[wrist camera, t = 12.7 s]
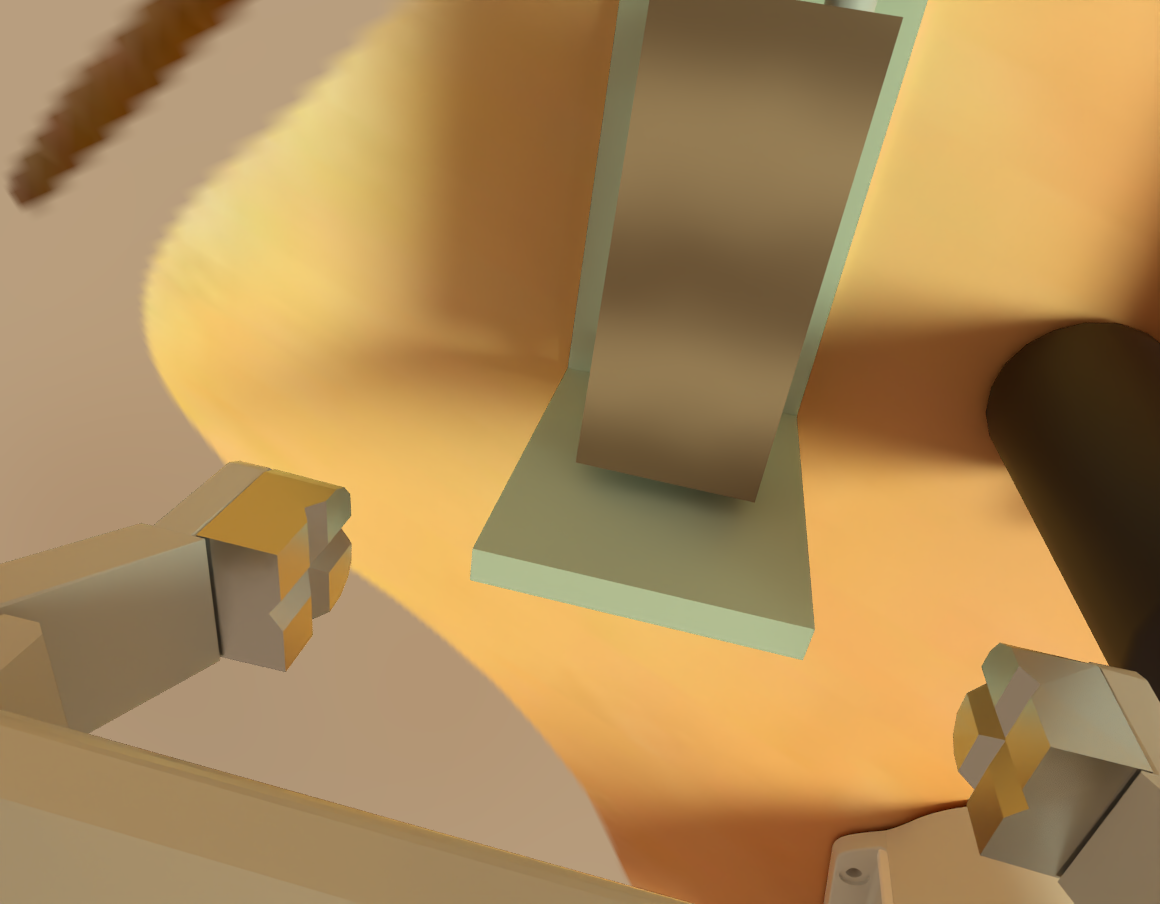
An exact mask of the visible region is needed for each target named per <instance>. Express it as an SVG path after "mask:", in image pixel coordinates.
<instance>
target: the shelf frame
mask: <svg viewBox="0 0 1160 904" xmlns="http://www.w3.org/2000/svg"><path fill="white" fill-rule="evenodd" d="M800 1H806V2H812V3H818V4H825V5H831V6H837V7H843V8H850V9H856V10H862V11H868V12H874V13H881V14H887V15H893V16H899V17H903V20H902V23H901V27H900V30H899V33H898V37H897V40H896V43H895V46H894V50H893V53H892V56H891V59H890V63H889V66H888V69H887V72H886V76H885V79H884V82H883V86H882V89H881V92H880V95H879V99H878V102H877V105H876V108H875V112H874V115H873V118H872V121H871V125H870V128H869V131H868V134H867V138H866V141H865V144H864V148H863V151H862V154H861V157H860V161H859V164H858V167H857V170H856V174H855V177H854V180H853V183H852V187H851V190H850V193H849V197H848V200H847V203H846V206H845V210H844V213H843V216H842V219H841V223H840V226H839V229H838V232H837V236H836V239H835V242H834V246H833V249H832V252H831V255H830V259H829V262H828V265H827V268H826V272H825V275H824V278H823V281H822V285H821V288H820V291H819V294H818V298H817V301H816V304H815V308H814V311H813V314H812V317H811V321H810V324H809V327H808V330H807V334H806V337H805V340H804V343H803V347H802V350H801V353H800V357H799V360H798V363H797V366H796V370H795V373H794V376H793V379H792V383H791V386H790V389H789V392H788V396H787V399H786V402H785V406H784V409H783V412H782V415H781V419H780V422H779V425H778V428H777V432H776V435H775V438H774V441H773V445H772V448H771V451H770V454H769V458H768V461H767V464H766V468H765V471H764V474H763V477H762V481H761V484H760V487H759V490H758V494H757V497H756V500H755V503H754V502H750V501H745V500H741V499H736V498H732V497H727V496H723V495H718V494H714V493H710V492H705V491H701V490H696V489H692V488H687V487H683V486H678V485H674V484H669V483H665V482H661V481H656V480H652V479H647V478H643V477H638V476H634V475H629V474H625V473H620V472H616V471H612V470H607V469H603V468H598V467H594V466H589V465H585V464H580V463H576V457H577V451H578V445H579V438H580V432H581V426H582V420H583V413H584V407H585V401H586V394H587V388H588V382H589V376H590V369H591V363H592V357H593V351H594V344H595V338H596V332H597V325H598V319H599V313H600V307H601V300H602V294H603V288H604V282H605V275H606V269H607V263H608V256H609V250H610V244H611V238H612V231H613V225H614V219H615V213H616V206H617V200H618V194H619V187H620V181H621V175H622V169H623V162H624V156H625V150H626V144H627V137H628V131H629V125H630V118H631V112H632V106H633V100H634V93H635V87H636V81H637V75H638V68H639V62H640V56H641V49H642V43H643V37H644V31H645V24H646V18H647V12H648V6H649V0H619V7H618V14H617V21H616V29H615V36H614V43H613V50H612V57H611V64H610V71H609V78H608V85H607V93H606V100H605V107H604V114H603V121H602V128H601V135H600V142H599V149H598V157H597V164H596V171H595V178H594V185H593V192H592V199H591V206H590V214H589V221H588V228H587V235H586V242H585V249H584V256H583V263H582V270H581V278H580V285H579V292H578V299H577V306H576V313H575V320H574V327H573V335H572V342H571V349H570V356H569V363H568V368H567V370H566V372H565V374H564V376H563V378H562V380H561V382H560V384H559V386H558V387H557V389H556V391H555V393H554V395H553V397H552V399H551V401H550V403H549V405H548V406H547V408H546V410H545V412H544V414H543V416H542V418H541V420H540V422H539V424H538V425H537V427H536V429H535V431H534V433H533V435H532V437H531V439H530V441H529V443H528V445H527V446H526V448H525V450H524V452H523V454H522V456H521V458H520V460H519V462H518V464H517V465H516V467H515V469H514V471H513V473H512V475H511V477H510V479H509V481H508V483H507V484H506V486H505V488H504V490H503V492H502V494H501V496H500V498H499V500H498V502H497V503H496V505H495V507H494V509H493V511H492V513H491V515H490V517H489V519H488V521H487V522H486V524H485V526H484V528H483V530H482V532H481V534H480V536H479V538H478V540H477V541H476V543H475V545H474V547H473V551H472V563H471V575H470V580H472V581H476V582H480V583H485V584H489V585H493V586H497V587H501V588H505V589H509V590H514V591H518V592H522V593H526V594H530V595H534V596H538V597H543V598H547V599H551V600H555V601H559V602H563V603H568V604H572V605H576V606H580V607H584V608H588V609H592V610H597V611H601V612H605V613H609V614H613V615H617V616H622V617H626V618H630V619H634V620H638V621H642V622H646V623H651V624H655V625H659V626H663V627H667V628H671V629H676V630H680V631H684V632H688V633H692V634H696V635H700V636H705V637H709V638H713V639H717V640H721V641H725V642H730V643H734V644H738V645H742V646H746V647H750V648H754V649H759V650H763V651H767V652H771V653H775V654H779V655H783V656H788V657H792V658H796V659H800V660H803V659H804V656H805V653H806V651H807V648H808V646H809V643H810V641H811V638H812V635H813V633H814V630H815V626H814V614H813V603H812V591H811V579H810V567H809V555H808V543H807V531H806V520H805V508H804V496H803V484H802V472H801V460H800V448H799V437H798V425H797V414H798V411H799V407H800V404H801V401H802V398H803V395H804V392H805V388H806V385H807V382H808V379H809V376H810V372H811V369H812V366H813V363H814V360H815V357H816V353H817V350H818V347H819V344H820V341H821V338H822V334H823V331H824V328H825V325H826V322H827V319H828V315H829V312H830V309H831V306H832V303H833V299H834V296H835V293H836V290H837V287H838V284H839V280H840V277H841V274H842V271H843V268H844V265H845V261H846V258H847V255H848V252H849V249H850V245H851V242H852V239H853V236H854V233H855V230H856V226H857V223H858V220H859V217H860V214H861V211H862V207H863V204H864V201H865V198H866V195H867V191H868V188H869V185H870V182H871V179H872V176H873V172H874V169H875V166H876V163H877V160H878V157H879V153H880V150H881V147H882V144H883V141H884V138H885V134H886V131H887V128H888V125H889V122H890V118H891V115H892V112H893V109H894V106H895V103H896V99H897V96H898V93H899V90H900V87H901V84H902V80H903V77H904V74H905V71H906V68H907V64H908V61H909V58H910V55H911V52H912V49H913V45H914V42H915V39H916V36H917V33H918V30H919V26H920V23H921V20H922V17H923V14H924V11H925V7H926V4H927V1H928V0H800Z"/></svg>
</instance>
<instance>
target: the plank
mask: <svg viewBox="0 0 1160 904" xmlns="http://www.w3.org/2000/svg"><path fill="white" fill-rule="evenodd" d="M902 20H903V17H899V16H893V15H887V14H881V13H874V12H868V11H862V10H856V9H850V8H843V7H837V6H831V5H825V4H818V3H812V2H806V1H800V0H649V6H648V12H647V18H646V24H645V31H644V37H643V43H642V49H641V56H640V62H639V68H638V75H637V81H636V87H635V93H634V100H633V106H632V112H631V118H630V125H629V131H628V137H627V144H626V150H625V156H624V162H623V169H622V175H621V181H620V187H619V194H618V200H617V206H616V213H615V219H614V225H613V231H612V238H611V244H610V250H609V256H608V263H607V269H606V275H605V282H604V288H603V294H602V300H601V307H600V313H599V319H598V325H597V332H596V338H595V344H594V351H593V357H592V363H591V369H590V376H589V382H588V388H587V394H586V401H585V407H584V413H583V420H582V426H581V432H580V438H579V445H578V451H577V457H576V463H580V464H585V465H589V466H594V467H598V468H603V469H607V470H612V471H616V472H620V473H625V474H629V475H634V476H638V477H643V478H647V479H652V480H656V481H661V482H665V483H669V484H674V485H678V486H683V487H687V488H692V489H696V490H701V491H705V492H710V493H714V494H718V495H723V496H727V497H732V498H736V499H741V500H745V501H750V502H754V503H755V500H756V497H757V494H758V490H759V487H760V484H761V481H762V477H763V474H764V471H765V468H766V464H767V461H768V458H769V454H770V451H771V448H772V445H773V441H774V438H775V435H776V432H777V428H778V425H779V422H780V419H781V415H782V412H783V409H784V406H785V402H786V399H787V396H788V392H789V389H790V386H791V383H792V379H793V376H794V373H795V370H796V366H797V363H798V360H799V357H800V353H801V350H802V347H803V343H804V340H805V337H806V334H807V330H808V327H809V324H810V321H811V317H812V314H813V311H814V308H815V304H816V301H817V298H818V294H819V291H820V288H821V285H822V281H823V278H824V275H825V272H826V268H827V265H828V262H829V259H830V255H831V252H832V249H833V246H834V242H835V239H836V236H837V232H838V229H839V226H840V223H841V219H842V216H843V213H844V210H845V206H846V203H847V200H848V197H849V193H850V190H851V187H852V183H853V180H854V177H855V174H856V170H857V167H858V164H859V161H860V157H861V154H862V151H863V148H864V144H865V141H866V138H867V134H868V131H869V128H870V125H871V121H872V118H873V115H874V112H875V108H876V105H877V102H878V99H879V95H880V92H881V89H882V86H883V82H884V79H885V76H886V72H887V69H888V66H889V63H890V59H891V56H892V53H893V50H894V46H895V43H896V40H897V37H898V33H899V30H900V27H901V23H902Z"/></svg>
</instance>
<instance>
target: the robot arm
mask: <svg viewBox="0 0 1160 904" xmlns="http://www.w3.org/2000/svg"><path fill="white" fill-rule="evenodd" d="M350 516H351V503H350V494H349V492H348V491H347V490H346V489H345V488H344V487H341V486H337V485H334V484H330V483H326V482H322V481H318V480H314V479H310V478H307V477H303V476H299V475H295V474H291V473H287V472H283V471H280V470H276V469H274V470H272V469H270V468H267V467H263V466H259V465H255V464H250V463H246V462H242V461H235V462H229V463H228V464H226V465H225V466H224V467H223V468H222V469H220V470H219V471H218V472H217V473H216V474H214V475H213V476H212V477H211V478H210V479H208V480H207V481H206V482H205V483H204V484H203V485H201V486H200V487H199V488H198V489H196V490H195V491H194V492H193V493H192V494H190V495H189V496H188V497H187V498H186V499H184V500H183V501H182V502H181V503H180V504H178V505H177V506H176V507H175V508H174V509H172V510H171V511H170V512H169V513H168V514H166V515H165V516H164V517H163V518H162V519H160V520H159V521H158V522H157V523H156V524H154V525H153V526H151V525H148V524H143V523H140V524H136V525H133V526H130V527H126V528H123V529H119V530H116V531H112V532H109V533H105V534H102V535H98V536H95V537H91V538H88V539H85V540H81V541H78V542H74V543H71V544H67V545H64V546H60V547H57V548H53V549H50V550H47V551H43V552H40V553H36V554H33V555H29V556H26V557H22V558H19V559H15V560H12V561H9V562H5V563H2V564H0V904H693V903H690V902H686V901H682V900H679V899H675V898H672V897H668V896H665V895H661V894H658V893H654V892H650V891H647V890H643V889H640V888H636V887H633V886H629V885H625V884H622V883H618V882H615V881H611V880H607V879H604V878H601V877H596V876H593V875H590V874H586V873H583V872H579V871H576V870H572V869H568V868H565V867H561V866H558V865H554V864H551V863H547V862H543V861H540V860H536V859H533V858H529V857H525V856H522V855H518V854H515V853H511V852H508V851H504V850H501V849H497V848H493V847H490V846H486V845H483V844H479V843H476V842H472V841H469V840H465V839H462V838H457V837H454V836H451V835H447V834H444V833H440V832H436V831H433V830H429V829H426V828H422V827H419V826H415V825H412V824H407V823H404V822H401V821H397V820H394V819H390V818H386V817H383V816H379V815H376V814H372V813H369V812H365V811H362V810H358V809H355V808H351V807H347V806H344V805H340V804H337V803H333V802H330V801H326V800H323V799H319V798H315V797H312V796H308V795H304V794H301V793H297V792H294V791H290V790H287V789H283V788H280V787H276V786H273V785H269V784H266V783H262V782H258V781H254V780H251V779H248V778H244V777H241V776H237V775H233V774H230V773H226V772H222V771H219V770H216V769H212V768H208V767H205V766H201V765H198V764H194V763H191V762H187V761H184V760H180V759H176V758H173V757H169V756H166V755H162V754H158V753H155V752H151V751H148V750H144V749H141V748H137V747H133V746H130V745H127V744H123V743H119V742H116V741H112V740H109V739H105V738H102V737H98V736H94V735H91V734H88V733H90V732H92V731H93V730H95V729H97V728H99V727H101V726H103V725H104V724H106V723H108V722H110V721H111V720H113V719H115V718H117V717H119V716H121V715H122V714H124V713H126V712H128V711H130V710H131V709H133V708H135V707H137V706H139V705H141V704H142V703H144V702H146V701H147V700H150V699H151V698H153V697H155V696H157V695H159V694H160V693H162V692H164V691H166V690H167V689H169V688H171V687H173V686H175V685H177V684H179V683H180V682H182V681H184V680H186V679H188V678H189V677H191V676H193V675H195V674H197V673H198V672H200V671H202V670H204V669H206V668H207V667H209V666H211V665H213V664H215V663H216V662H218V661H220V657H224V658H228V659H233V660H236V661H241V662H245V663H250V664H254V665H258V666H262V667H267V668H271V669H275V670H279V671H283V672H286V671H287V669H288V668H289V667H290V665H291V664H292V663H293V661H294V660H295V659H296V657H297V656H298V654H299V653H300V652H301V650H302V649H303V648H304V646H305V645H306V643H307V642H308V641H309V639H310V638H311V637H312V635H313V631H312V619H314V618H316V617H319V616H321V615H323V614H325V613H328V612H330V610H331V609H332V608H333V606H334V605H335V603H336V602H337V600H338V599H339V597H340V596H341V593H342V591H343V588H344V586H345V583H346V581H347V578H348V575H349V570H350V564H351V542H350V540H349V539H348V537H347V536H346V534H345V533H344V532H343V530H342V529H341V528H342V526H343V525H344V524H345V523H346V521H347V520H348V519H349V518H350ZM982 670H983V673H984V676H985V679H986V682H987V684H985V685H983V686H980V687H978V688H976V689H974V690H972V691H970V692H968V693H967V694H966V696H965V698H964V700H963V702H962V704H961V706H960V708H959V710H958V713H957V716H956V722H955V727H954V733H953V747H954V756H955V760H956V765H957V769H958V772H959V773H960V774H961V775H962V776H963V777H964V778H965V780H966V781H967V782H968V783H969V784H970V785H971V786H972V787H973V788H974V789H975V790H974V792H973V793H972V795H971V797H970V798H969V800H968V802H967V803H966V805H967V807H961V808H954V809H949V810H944V811H940V812H936V813H933V814H929V815H926V816H923V817H921V818H918V819H916V820H913V821H911V822H908V823H906V824H904V825H901V826H899V827H896V828H893V829H889V830H886V831H875V832H865V833H857V834H851V835H847V836H843V837H841V838H839V839H837V840H836V841H835V842H834V844H833V847H832V852H831V859H830V865H829V872H828V878H827V885H826V891H825V897H824V904H1160V702H1159V700H1158V698H1157V697H1156V695H1155V693H1154V691H1153V690H1152V688H1151V686H1150V684H1149V683H1148V681H1147V680H1146V679H1145V678H1144V677H1142V676H1141V675H1140V674H1138V673H1137V672H1135V671H1130V670H1125V669H1121V668H1116V667H1111V666H1106V665H1102V664H1097V663H1092V662H1089V663H1085V662H1081V661H1076V660H1072V659H1068V658H1063V657H1059V656H1055V655H1050V654H1046V653H1042V652H1038V651H1033V650H1029V649H1025V648H1020V647H1016V646H1012V645H1007V644H1003V643H999V644H998V645H997V646H996V647H994V648H993V649H992V650H991V651H990V652H989V654H988V656H987V658H986V659H985V661H984V663H983V665H982Z"/></svg>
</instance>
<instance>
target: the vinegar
mask: <svg viewBox="0 0 1160 904" xmlns="http://www.w3.org/2000/svg"><path fill="white" fill-rule="evenodd" d="M986 417H987V423H988V429H989V435H990V437H991V439H992V441H993V443H994V445H995V447H996V449H997V451H998V453H999V455H1000V457H1001V459H1002V461H1003V462H1004V464H1005V466H1006V468H1007V470H1008V472H1009V474H1010V476H1011V478H1012V480H1013V482H1014V484H1015V486H1016V487H1017V489H1018V491H1019V493H1020V495H1021V497H1022V499H1023V501H1024V503H1025V505H1026V507H1027V509H1028V511H1029V512H1030V514H1031V516H1032V518H1033V520H1034V522H1035V524H1036V526H1037V528H1038V530H1039V532H1040V534H1041V536H1042V537H1043V539H1044V541H1045V543H1046V545H1047V547H1048V549H1049V551H1050V553H1051V555H1052V557H1053V559H1054V561H1055V562H1056V564H1057V566H1058V568H1059V570H1060V572H1061V574H1062V576H1063V578H1064V580H1065V582H1066V584H1067V586H1068V587H1069V589H1070V591H1071V593H1072V595H1073V597H1074V599H1075V601H1076V603H1077V605H1078V607H1079V609H1080V611H1081V613H1082V614H1083V616H1084V618H1085V620H1086V622H1087V624H1088V626H1089V628H1090V630H1091V632H1092V634H1093V636H1094V638H1095V639H1096V641H1097V643H1098V645H1099V647H1100V649H1101V651H1102V653H1103V655H1104V657H1105V659H1106V661H1107V663H1108V664H1109V666H1111V667H1116V668H1121V669H1125V670H1130V671H1135V672H1137V673H1138V674H1140V675H1141V676H1142V677H1144V678H1145V679H1146V680H1147V681H1148V683H1149V684H1150V686H1151V688H1152V690H1153V691H1154V693H1155V695H1156V697H1157V698H1158V700H1159V702H1160V343H1159V342H1158V341H1157V340H1155V339H1154V338H1153V337H1151V336H1150V335H1149V334H1148V333H1145V332H1142V331H1139V330H1136V329H1133V328H1130V327H1127V326H1124V325H1121V324H1117V323H1083V324H1078V325H1074V326H1070V327H1066V328H1062V329H1058V330H1054V331H1052V332H1050V333H1048V334H1046V335H1045V336H1043V337H1041V338H1039V339H1037V340H1035V341H1033V342H1031V343H1029V344H1027V345H1026V346H1025V347H1024V348H1023V349H1022V350H1021V351H1019V352H1018V353H1017V354H1016V355H1015V356H1014V357H1013V358H1012V359H1011V360H1010V361H1008V362H1007V363H1006V364H1005V366H1004V367H1003V369H1002V370H1001V372H1000V374H999V375H998V377H997V379H996V380H995V382H994V383H993V385H992V387H991V391H990V395H989V400H988V404H987V409H986Z"/></svg>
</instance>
